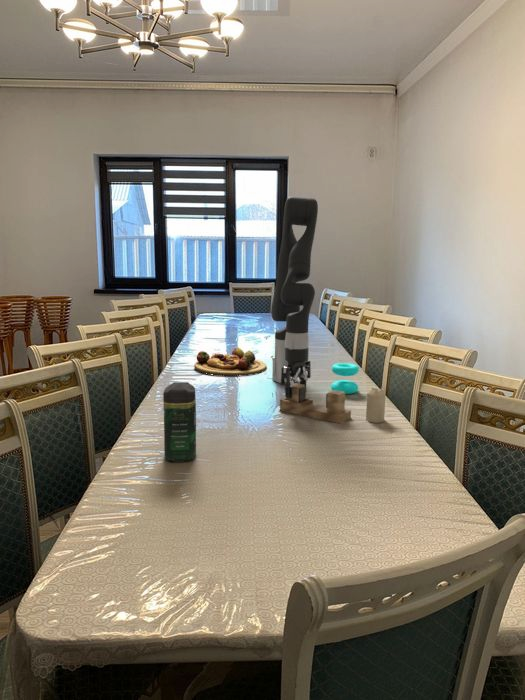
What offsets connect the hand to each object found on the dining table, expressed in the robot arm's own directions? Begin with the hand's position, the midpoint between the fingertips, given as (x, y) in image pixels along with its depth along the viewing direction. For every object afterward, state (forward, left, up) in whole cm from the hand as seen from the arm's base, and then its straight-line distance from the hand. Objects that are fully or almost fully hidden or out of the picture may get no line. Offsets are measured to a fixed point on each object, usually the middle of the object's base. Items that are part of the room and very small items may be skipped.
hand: (295, 394), depth 168 cm
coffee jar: (-3, -50, -5) cm, 50 cm away
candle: (+25, +6, -5) cm, 26 cm away
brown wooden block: (0, 0, -3) cm, 3 cm away
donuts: (+2, +31, -5) cm, 32 cm away
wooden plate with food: (-56, +36, -6) cm, 67 cm away
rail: (+7, 0, -5) cm, 9 cm away
